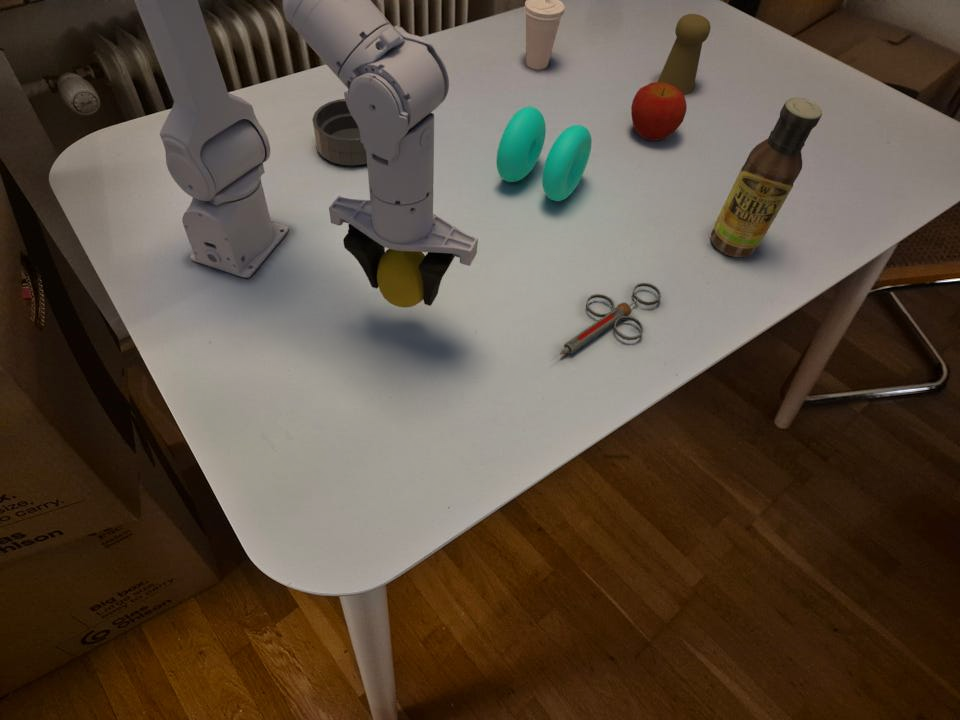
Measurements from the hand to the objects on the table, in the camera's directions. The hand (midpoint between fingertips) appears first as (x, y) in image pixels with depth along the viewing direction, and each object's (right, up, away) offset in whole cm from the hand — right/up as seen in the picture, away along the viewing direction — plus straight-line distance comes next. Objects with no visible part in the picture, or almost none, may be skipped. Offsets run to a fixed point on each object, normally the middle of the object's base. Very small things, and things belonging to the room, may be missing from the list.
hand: (405, 290), depth 70 cm
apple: (+34, +27, +32) cm, 54 cm away
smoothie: (+18, +42, +42) cm, 62 cm away
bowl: (-10, +23, +25) cm, 36 cm away
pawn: (+40, +38, +41) cm, 69 cm away
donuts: (+16, +17, +22) cm, 32 cm away
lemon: (0, -1, +2) cm, 2 cm away
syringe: (+22, -4, +7) cm, 23 cm away
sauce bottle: (+41, +8, +17) cm, 45 cm away
